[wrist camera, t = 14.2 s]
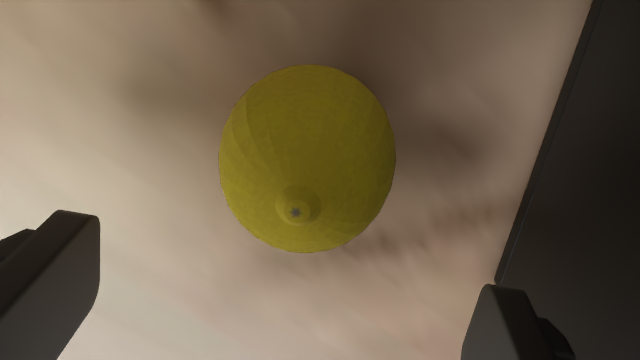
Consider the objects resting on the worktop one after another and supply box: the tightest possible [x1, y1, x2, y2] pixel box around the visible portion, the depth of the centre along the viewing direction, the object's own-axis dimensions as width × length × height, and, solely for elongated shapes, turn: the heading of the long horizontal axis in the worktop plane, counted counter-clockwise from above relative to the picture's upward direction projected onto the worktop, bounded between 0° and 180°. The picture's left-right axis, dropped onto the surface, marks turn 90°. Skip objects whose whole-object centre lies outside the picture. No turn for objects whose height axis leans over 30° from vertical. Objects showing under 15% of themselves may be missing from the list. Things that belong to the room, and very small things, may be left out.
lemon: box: [219, 64, 396, 253], centre depth 18 cm, size 6×6×8 cm
